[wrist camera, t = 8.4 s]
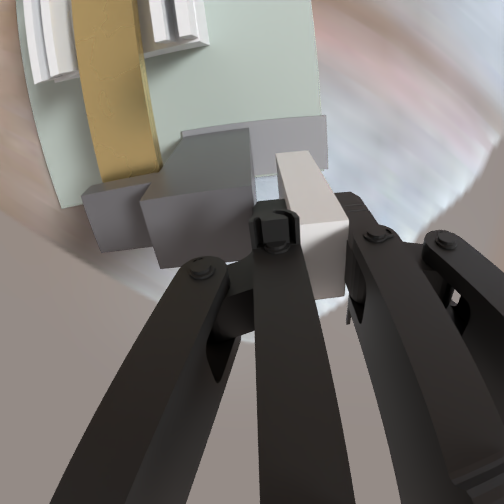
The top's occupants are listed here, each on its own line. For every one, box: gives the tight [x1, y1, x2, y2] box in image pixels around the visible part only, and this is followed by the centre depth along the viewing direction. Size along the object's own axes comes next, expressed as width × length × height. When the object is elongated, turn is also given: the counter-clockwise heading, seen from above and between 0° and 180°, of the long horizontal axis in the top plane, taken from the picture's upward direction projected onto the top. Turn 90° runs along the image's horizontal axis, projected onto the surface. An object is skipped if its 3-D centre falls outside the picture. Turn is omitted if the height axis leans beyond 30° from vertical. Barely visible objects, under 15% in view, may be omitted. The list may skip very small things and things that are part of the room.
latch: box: [81, 128, 257, 269], centre depth 16 cm, size 3×8×10 cm, turn 97°
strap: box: [71, 0, 163, 183], centre depth 11 cm, size 19×4×1 cm, turn 7°
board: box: [16, 0, 328, 209], centre depth 13 cm, size 22×20×8 cm
